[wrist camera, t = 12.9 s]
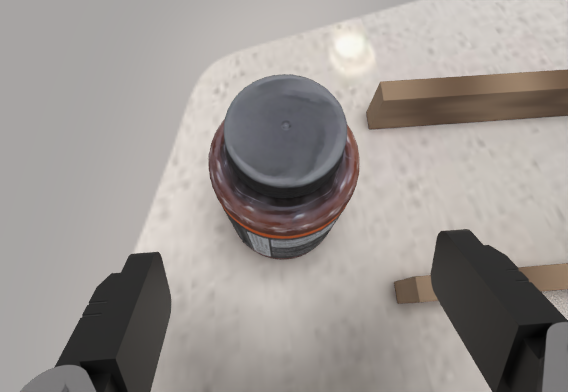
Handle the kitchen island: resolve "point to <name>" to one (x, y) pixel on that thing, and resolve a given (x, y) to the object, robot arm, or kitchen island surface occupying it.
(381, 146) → the kitchen island surface
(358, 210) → the kitchen island surface
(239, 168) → the supplement bottle
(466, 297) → the robot arm
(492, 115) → the walnut channel
